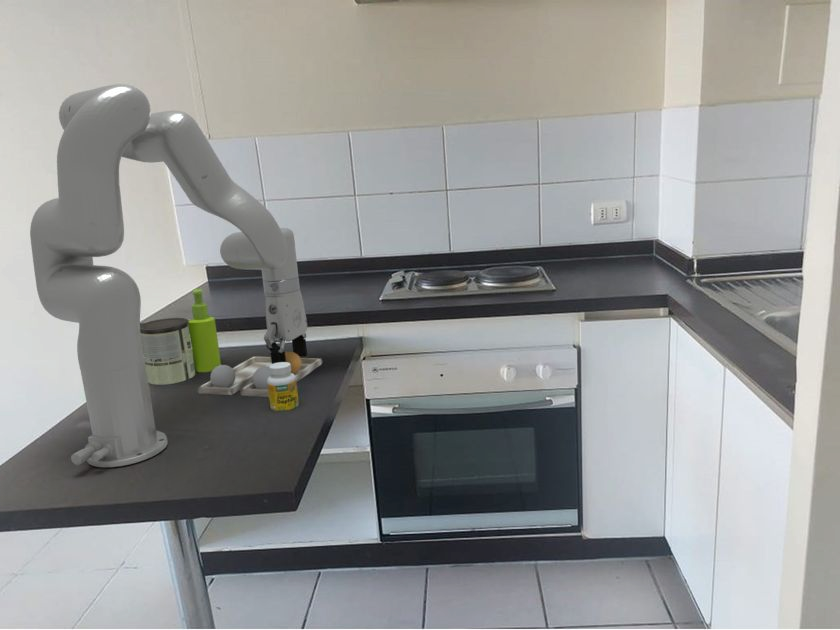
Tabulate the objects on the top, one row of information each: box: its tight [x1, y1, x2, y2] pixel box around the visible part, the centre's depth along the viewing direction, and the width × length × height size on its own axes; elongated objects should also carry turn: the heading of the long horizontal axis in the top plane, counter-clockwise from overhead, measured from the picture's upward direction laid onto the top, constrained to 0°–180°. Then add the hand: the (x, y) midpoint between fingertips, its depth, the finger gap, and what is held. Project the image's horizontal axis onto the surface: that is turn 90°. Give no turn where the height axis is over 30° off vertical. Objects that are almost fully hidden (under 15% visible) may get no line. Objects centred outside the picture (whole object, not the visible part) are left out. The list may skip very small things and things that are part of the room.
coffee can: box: [140, 317, 196, 385], centre depth 138 cm, size 10×10×14 cm
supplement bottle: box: [267, 362, 300, 412], centre depth 117 cm, size 5×5×10 cm
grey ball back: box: [210, 364, 235, 388], centre depth 129 cm, size 5×5×5 cm
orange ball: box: [285, 351, 301, 374], centre depth 136 cm, size 5×5×5 cm
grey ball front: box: [253, 366, 271, 390], centre depth 126 cm, size 5×5×5 cm
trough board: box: [197, 356, 323, 398], centre depth 135 cm, size 24×19×3 cm
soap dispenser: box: [188, 288, 222, 373], centre depth 144 cm, size 6×7×20 cm
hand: (290, 362), depth 136 cm, fingers open, 9 cm apart
